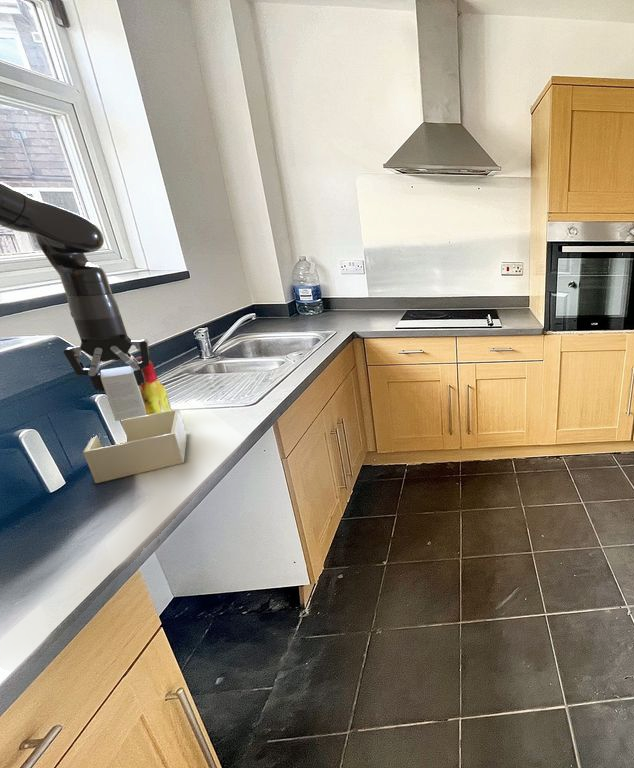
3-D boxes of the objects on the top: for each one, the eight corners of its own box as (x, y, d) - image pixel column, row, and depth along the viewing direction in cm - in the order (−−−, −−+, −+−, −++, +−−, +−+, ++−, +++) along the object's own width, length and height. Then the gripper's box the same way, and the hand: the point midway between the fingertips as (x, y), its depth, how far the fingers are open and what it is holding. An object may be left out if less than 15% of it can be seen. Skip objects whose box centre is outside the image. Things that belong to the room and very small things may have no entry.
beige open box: (95, 483, 91) (82, 452, 88) (110, 451, 105) (100, 423, 102) (183, 462, 99) (174, 433, 97) (187, 435, 113) (179, 408, 110)
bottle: (170, 428, 117) (148, 360, 110) (141, 433, 114) (117, 364, 107) (177, 413, 127) (158, 350, 120) (150, 417, 124) (129, 353, 117)
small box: (114, 411, 99) (99, 369, 95) (145, 405, 102) (131, 364, 99) (115, 422, 93) (99, 377, 90) (147, 415, 97) (133, 372, 93)
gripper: (142, 309, 97) (162, 377, 102) (55, 316, 89) (83, 389, 95) (137, 314, 91) (160, 386, 97) (44, 321, 83) (74, 399, 89)
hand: (121, 387), depth 96 cm, fingers closed on small box, 6 cm apart
